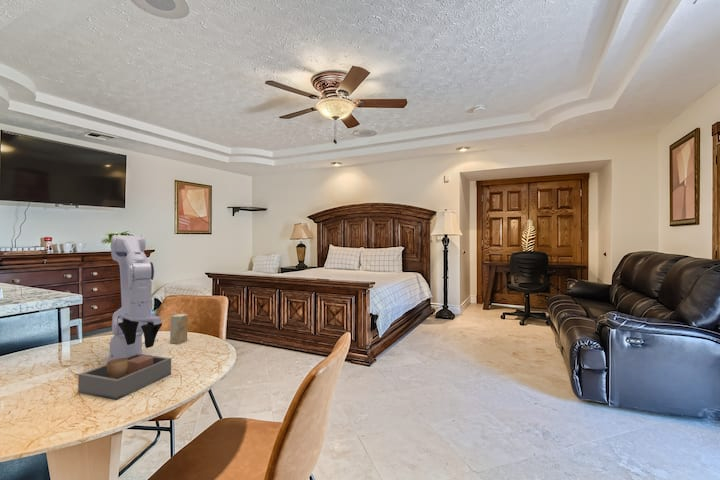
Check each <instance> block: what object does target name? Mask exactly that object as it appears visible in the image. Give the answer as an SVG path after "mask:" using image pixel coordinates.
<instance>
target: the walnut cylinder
mask: <svg viewBox="0 0 720 480" xmlns="http://www.w3.org/2000/svg"><path fill="white" fill-rule="evenodd" d="M106 364H107V377H108V378H113V379H119V378H122V377H124V376H127V375H128V359H127V358H117V359H113V360H110V361H108V362H107V361H106Z"/></svg>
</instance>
